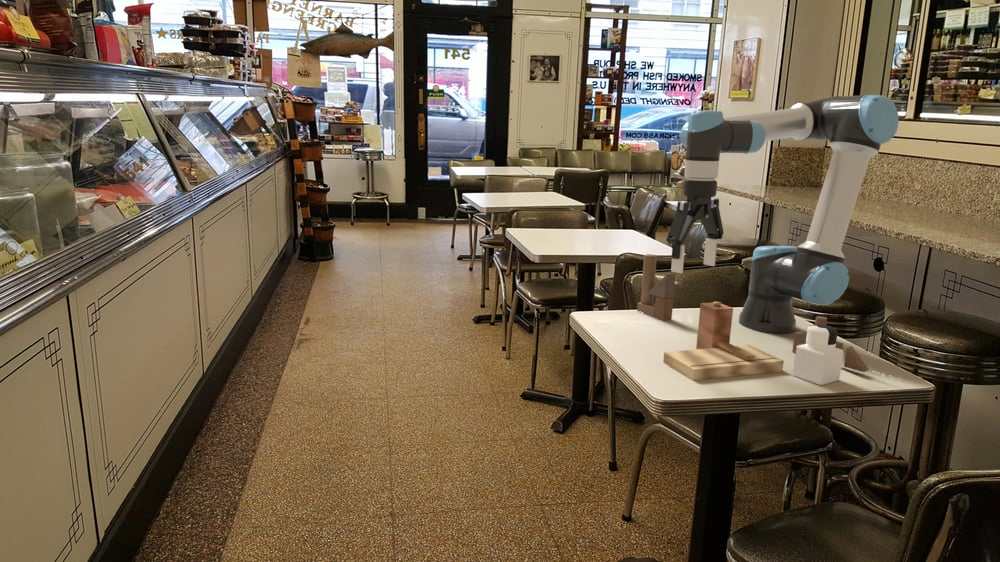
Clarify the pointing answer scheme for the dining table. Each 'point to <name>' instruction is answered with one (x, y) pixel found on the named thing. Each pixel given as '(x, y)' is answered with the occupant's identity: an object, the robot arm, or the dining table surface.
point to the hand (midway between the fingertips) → (693, 268)
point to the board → (721, 363)
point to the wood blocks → (851, 355)
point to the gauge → (717, 329)
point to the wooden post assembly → (656, 291)
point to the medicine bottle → (819, 356)
